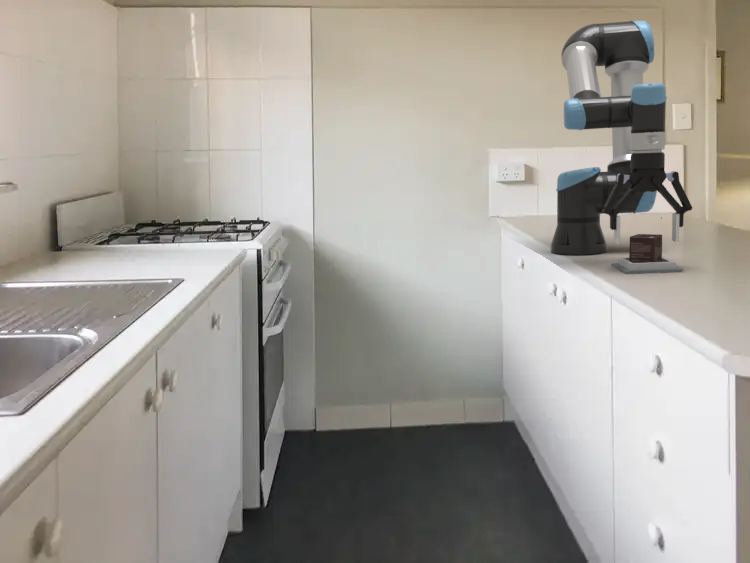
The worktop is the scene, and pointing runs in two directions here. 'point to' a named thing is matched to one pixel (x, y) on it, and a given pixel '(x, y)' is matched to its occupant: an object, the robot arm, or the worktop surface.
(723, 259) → the worktop surface
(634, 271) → the grey and white frame
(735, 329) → the worktop surface
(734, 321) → the worktop surface
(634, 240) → the box
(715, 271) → the worktop surface
